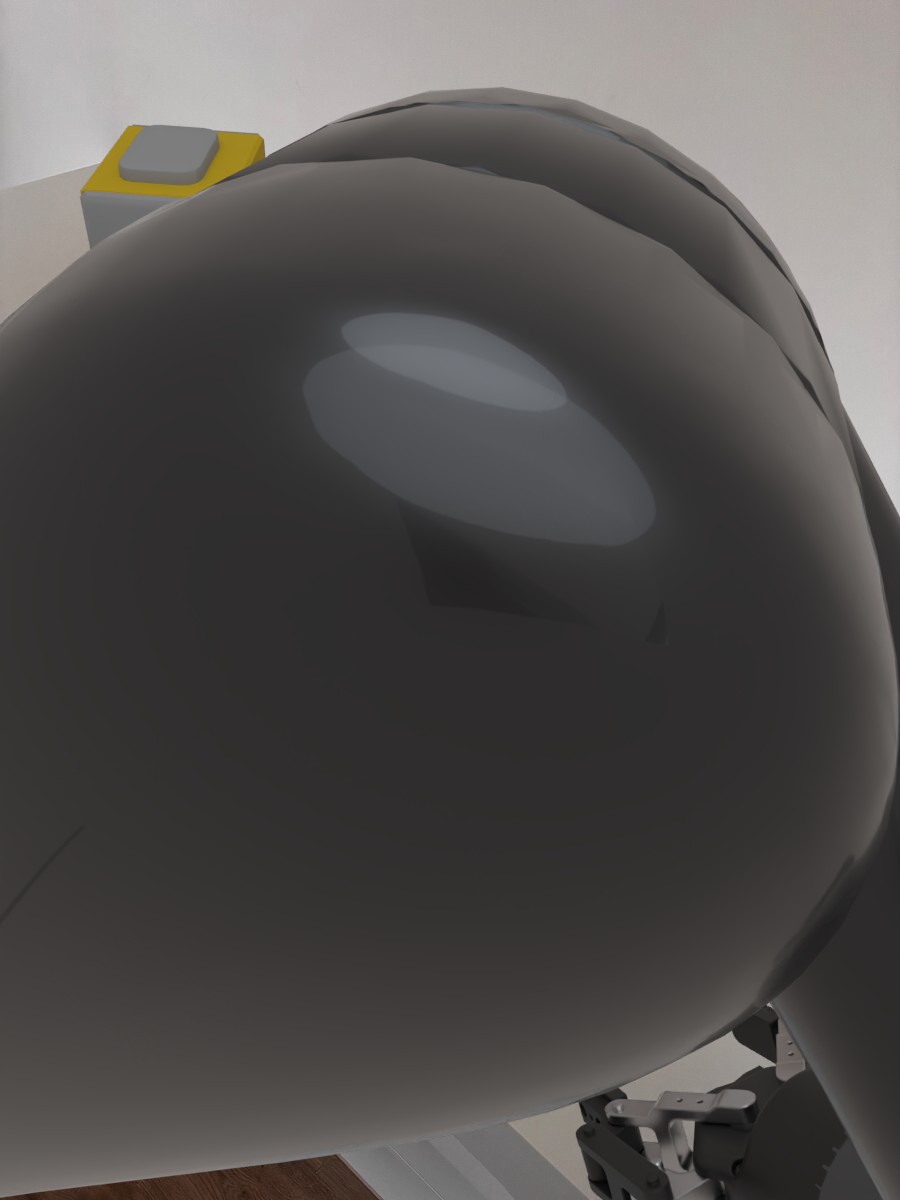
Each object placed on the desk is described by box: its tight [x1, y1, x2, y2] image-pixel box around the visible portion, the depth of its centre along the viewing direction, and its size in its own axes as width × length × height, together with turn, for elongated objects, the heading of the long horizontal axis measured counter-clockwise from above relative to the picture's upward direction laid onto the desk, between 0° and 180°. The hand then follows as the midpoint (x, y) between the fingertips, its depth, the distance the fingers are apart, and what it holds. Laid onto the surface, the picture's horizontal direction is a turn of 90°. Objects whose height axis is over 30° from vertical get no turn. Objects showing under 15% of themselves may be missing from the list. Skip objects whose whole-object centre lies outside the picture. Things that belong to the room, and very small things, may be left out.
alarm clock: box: [79, 123, 266, 250], centre depth 117 cm, size 20×16×18 cm
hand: (662, 1051), depth 52 cm, fingers open, 8 cm apart
